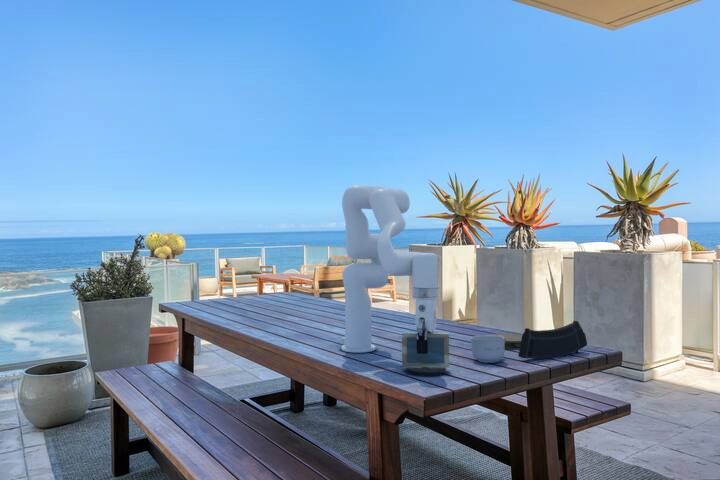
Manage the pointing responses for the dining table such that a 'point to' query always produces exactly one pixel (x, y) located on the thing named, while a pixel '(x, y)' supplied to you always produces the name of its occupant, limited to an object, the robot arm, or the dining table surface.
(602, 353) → the dining table surface
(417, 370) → the stand
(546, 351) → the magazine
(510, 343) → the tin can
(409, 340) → the frame
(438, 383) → the dining table surface
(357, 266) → the robot arm
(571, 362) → the dining table surface
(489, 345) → the teacup
